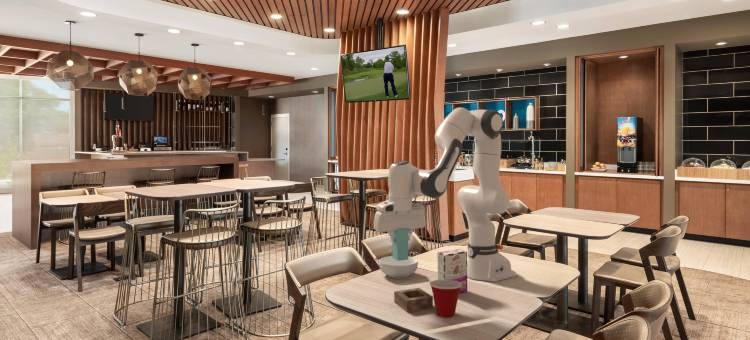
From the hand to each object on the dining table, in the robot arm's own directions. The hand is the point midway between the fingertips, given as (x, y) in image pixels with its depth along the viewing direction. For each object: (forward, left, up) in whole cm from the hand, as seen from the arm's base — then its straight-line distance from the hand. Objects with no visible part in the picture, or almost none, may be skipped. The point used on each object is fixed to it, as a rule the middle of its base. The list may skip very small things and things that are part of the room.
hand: (400, 241), depth 174 cm
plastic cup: (-6, +22, -22) cm, 32 cm away
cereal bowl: (-11, -25, -22) cm, 35 cm away
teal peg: (0, 0, -7) cm, 7 cm away
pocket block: (0, +10, -22) cm, 24 cm away
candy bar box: (-21, +3, -22) cm, 31 cm away
